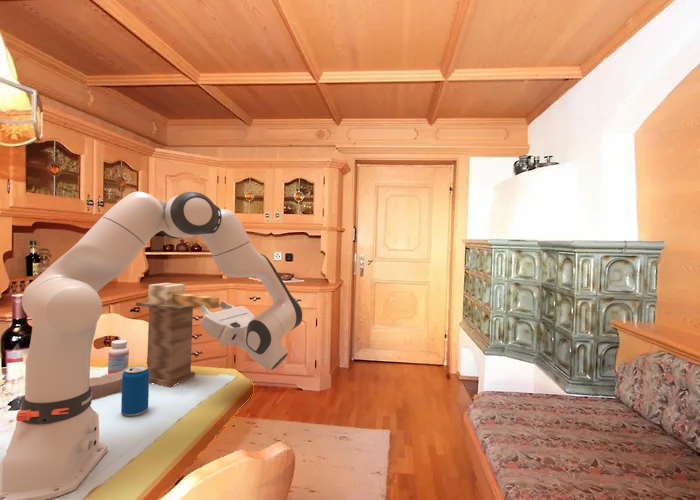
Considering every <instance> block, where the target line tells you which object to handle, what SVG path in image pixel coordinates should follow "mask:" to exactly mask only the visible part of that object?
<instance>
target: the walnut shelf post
mask: <svg viewBox="0 0 700 500" xmlns="http://www.w3.org/2000/svg"><path fill="white" fill-rule="evenodd" d="M135 305H136V306H135V307H142V308H143V307H144V308H148V325H147V326H148V328H147V329H148V331H147V333H148V334H147V358H146V359H147V363H146V364H147V365H146V366H147V367H148V370H149V384H151V383H154V384H153V385H156V384H158V385H157V386H161V385H163V386H162V387H166V386H167V387H166V388H172V386H173V385H175V384H177V383H180V382H182V381H184V382H186V381H188V379H189V380H190V378H191V379H193V378H195V377H196V372H195V371H191V368H192V367H191V366H192V346H193V345H192V344H193V343H192V338H193V316H194V315H193V313H194V312H193V311H194V309H195V308H198V307H194V306H186V305H177V304H170V305H163V304H154V303H148V300H145V301H139V302H135ZM185 380H186V381H185ZM182 383H183V382H182ZM180 384H181V383H180ZM177 385H178V384H177ZM175 386H176V385H175ZM173 387H174V386H173Z"/></svg>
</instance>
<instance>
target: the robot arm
mask: <svg viewBox="0 0 700 500" xmlns="http://www.w3.org/2000/svg"><path fill="white" fill-rule="evenodd" d="M214 203H215V202H213V201H212V200H211V199H210V198H209V197H208V196H207V195H205V194H203V193H201V192H197V191H187V192H183V193H180V194H178V195H174V196H172V197H170V198H168V199H166V200H164V201H162V200H159V199H157V198H156V197H155V196H153V195H152V194H150V193H148V192H143V191H134V192H131V193H129V194H127V195H126V196H124V197H123V198H122V199H120V200H119V201H117V202H116V203H115V204H114V205H113V206H112V207H110V208H109V209H108V210H107V211H106V212H105V213H103V215H102V216H101V217H100V218H99V220H97V221H96V222H95V224H94V225H92V226H91V228H90V229H89V230H88V231H87V232H86V233H84V235H83V236H82V237H81V238H80V239H79V240H78V242H77V243H75V244H74V245H73V246H72V247H71V248H70V249H69V250H68V251H66V252H65V253H64V254H62V255H61V256H60V257H59V258H57V259H56V260H55V261H54V262H53V263H52V264H51V265H49V266H48V267H47V268H46V269H45V270H44V271H43V272H42V273H40V274H39V275H38V276H37V277H36V278H35V279H34V280H32V281H31V282H30V283H29V284H28V285H27V286H26V288H25V289H24V291H23V292H22V293H23V294H22V297H21V306H22V310H23V311H24V313H25V314H26V315H27V316H28V318H30V319H31V323H32V328H31V334H30V335H31V336H30V343H29V347H28V353H27V357H26V359H25V377H24V382H25V383H24V396H23V397H22V399H21V404H20V407H19V410H18V411H17V413H16V418H15V419H16V423H15V425H16V426H15V428H14V430H13V434H12V437H11V439H10V442H9V445H8V447H7V449H6V454H5V457H4V458H2V459H1V461H0V500H49V499H53V498H57V497H59V496H62V495H65V494H67V493H70V492H72V491H74V490H76V489H77V488H78V486H79V485H80V484H81V483H82V482H83V481H84V480H85V478H86V477H87V476H88V475H89V474H90V472H92V470H93V469H94V467H96V465H97V464H98V463H99V461H100V460H101V459H102V458H103V457H104V455H105V454H106V453H107V452H108V451H109V450H108V445H107V443H106V444H105V443H101V442H100V414H99V413H97V411H95V410H94V409H93V408H92V407H91V404H92V400H91V398H92V392H91V387H90V386H89V379H90V378H91V377H90V376H91V375H90V374H91V373H90V372H91V371H90V369H91V355H92V353H91V352H92V347H93V342H94V338H95V335H96V330H97V325H98V322H99V320H100V319H101V315H102V313H103V301H102V299H101V297H100V295H99V294H98V293H99V291H100V290H102V289H103V288H104V287H105V286H106V285H108V283H110V282H111V281H113V280H114V279H115V278H117V277H119V276H120V275H121V274H123V273H124V272H125V271H126V270H127V268H128V267H129V266H130V264H131V263H132V262H133V261H134V260H135V259H136V257H137V256H138V255H139V254H140V253H141V251H142V250H143V249H144V248H145V247H146V246H147V244H148V243H149V242H150V240H151V239H152V238H153V237H154V236H155V235H156V234H160V235H163V236H165V237H168V238H171V239H188V238H192V237H195V236H197V237H200V238H201V239H202V240H203V242H204V243H205V244H206V245H207V247H208V250H209V252H210V254H211V256H212V258H213V261H214V263H215V265H216V268H218V270H219V271H220V272H221V274H224V275H225V276H228V277H230V278H237V279H238V278H239V279H240V278H250V277H251V278H252V277H253V278H256V279H259V281H260V282H261V284H262V285H263V286H264V289H266V291H267V293H268V294H269V296H270V297H271V299H272V304H271V306H269V307H267V308H266V309H265V310H263V311H262V312H260V313H258V315H256V316H255V315H254V314H253V312H252V311H250V309H249V308H247V307H246V306H245V305H244V306H243V305H239V306H234V305H233V304H230V303H228V302H226V301H225V300H224V301H221V302H220V303H219V307H220V308H221V309H222V310H218V311H214V312H212V311H209V309H210V308H208V307H207V306H206V305H204V306H201V307H199V311H200V312H201V313H202V314H203V317H202V318H201V320H200V327H201V328H202V329H203V330H205V332H206V333H208V334H209V335H211V336H212V338H214V339H218V340H217V342H218V343H219V345H221V346H235V347H236V346H237V347H238V348H239V349H240V350H243V351H244V352H246V353H247V355H248V356H249V357H250V359H252V360H253V361H255V362H256V363H257V364H259V365H260V366H261V367H264V368H265V369H267V370H269V371H271V370H274V369H276V368H277V367H278V366H279V365H280V364H282V363H283V361H285V359H286V358H287V356H288V354H289V352H288V349H286V348H285V347H284V346H283V342H282V341H283V340H282V339H283V338H284V336H285V335H287V334H288V333H289V332H291V331H293V330H294V329H296V328H297V327H298V326H300V325H301V323H302V321H303V311H302V307H301V305H300V304H299V303H298V301H297V300H296V299H295V298H294V297H293V296H292V294H291V292H290V291H289V289H288V287H287V286H286V284H285V283H284V280H283V279H282V278H281V276H280V274H279V273H278V272H279V271H277V269H276V267H275V266H274V264H273V263H272V262H271V260H270V259H269V258H268V257H267V256H266V255H265V254H263V253H260V252H258V250H256V248H255V246H253V244H252V242H251V240H250V237H249V235H248V233H247V230H246V229H245V227H244V225H243V224H242V222H241V221H240V219H239V218H238V217H237V215H236V214H235V213H234V212H233V211H232V210H230V209H226V208H220V207H218V206H217V205H216V204H214Z"/></svg>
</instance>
